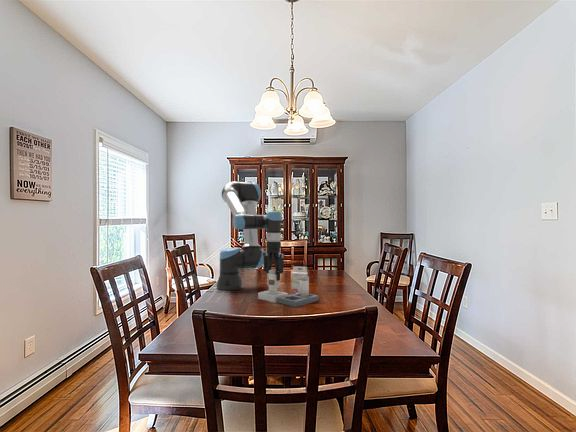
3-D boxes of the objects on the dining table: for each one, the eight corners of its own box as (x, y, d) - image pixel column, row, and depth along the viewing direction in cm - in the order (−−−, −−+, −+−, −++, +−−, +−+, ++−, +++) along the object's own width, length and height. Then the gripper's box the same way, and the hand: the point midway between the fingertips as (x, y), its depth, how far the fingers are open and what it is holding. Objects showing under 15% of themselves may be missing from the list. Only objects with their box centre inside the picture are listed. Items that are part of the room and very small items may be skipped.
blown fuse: (266, 293, 186) (266, 269, 186) (273, 291, 190) (273, 269, 190) (273, 294, 183) (273, 270, 183) (279, 293, 187) (279, 270, 187)
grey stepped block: (291, 294, 199) (291, 267, 199) (292, 292, 204) (292, 266, 204) (307, 294, 198) (307, 267, 198) (307, 292, 203) (307, 266, 203)
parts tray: (257, 298, 187) (258, 292, 187) (271, 295, 194) (271, 289, 194) (274, 302, 179) (274, 296, 179) (288, 299, 186) (288, 293, 186)
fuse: (297, 300, 185) (297, 276, 185) (303, 298, 188) (303, 275, 188) (304, 301, 182) (305, 277, 182) (310, 300, 185) (310, 276, 185)
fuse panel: (277, 302, 179) (277, 297, 179) (300, 296, 192) (300, 291, 192) (295, 307, 171) (295, 301, 171) (318, 300, 184) (318, 295, 184)
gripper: (256, 240, 190) (256, 284, 190) (281, 242, 178) (280, 289, 178) (266, 239, 195) (266, 283, 195) (291, 241, 184) (290, 287, 183)
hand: (273, 286), depth 187 cm, fingers closed on blown fuse, 5 cm apart
